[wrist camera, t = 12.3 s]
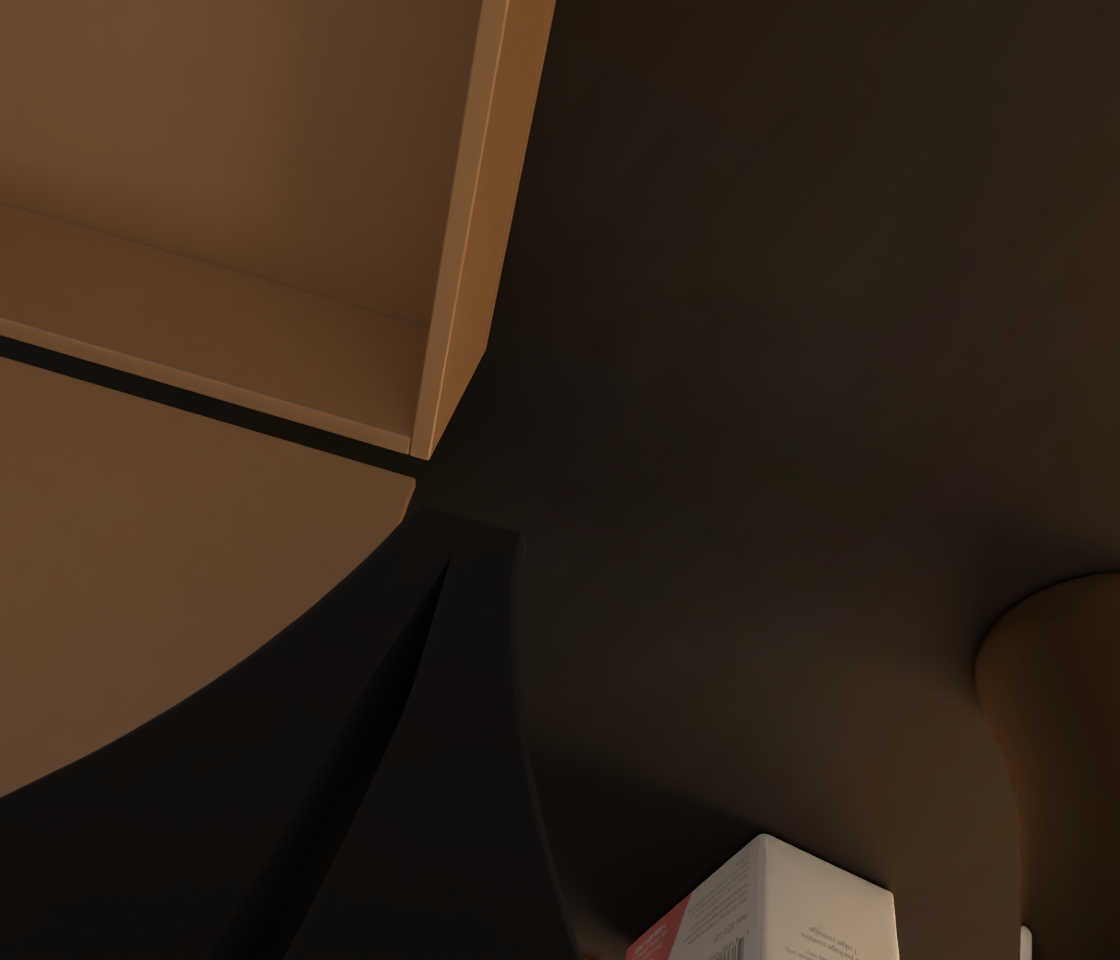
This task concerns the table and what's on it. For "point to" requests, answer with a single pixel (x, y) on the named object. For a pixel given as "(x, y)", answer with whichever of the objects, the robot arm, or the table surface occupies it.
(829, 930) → the ink cartridge box
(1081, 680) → the beer glass
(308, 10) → the carton
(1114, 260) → the table surface
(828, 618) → the table surface
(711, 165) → the table surface
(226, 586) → the flap
